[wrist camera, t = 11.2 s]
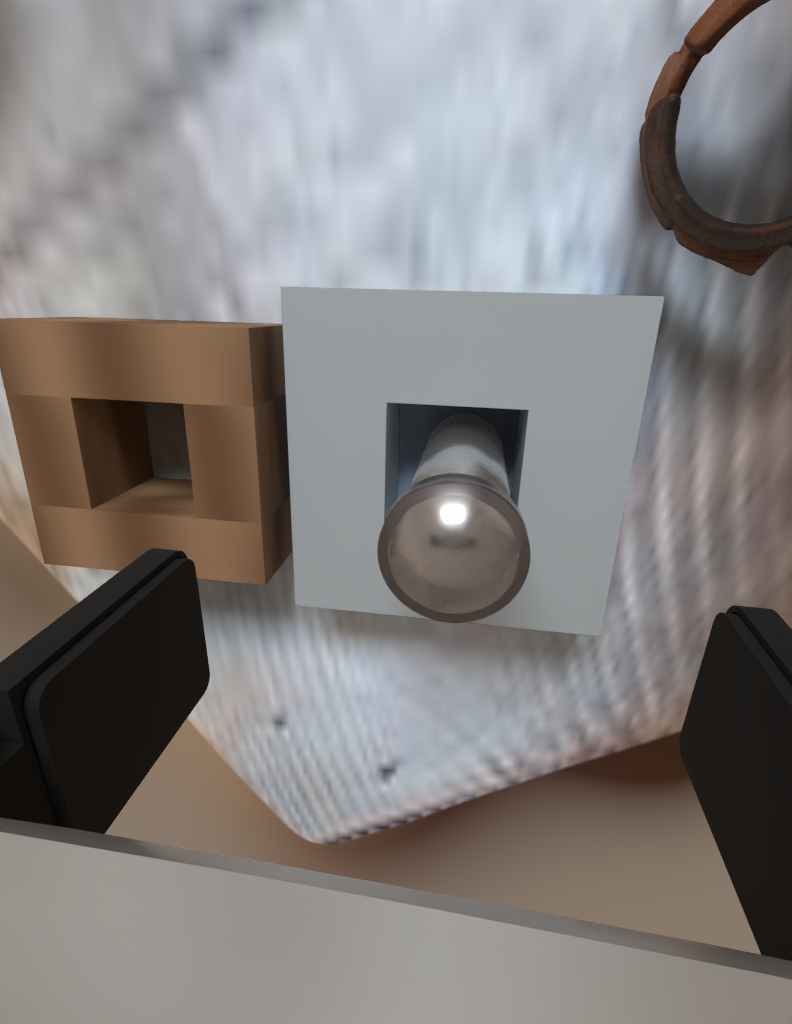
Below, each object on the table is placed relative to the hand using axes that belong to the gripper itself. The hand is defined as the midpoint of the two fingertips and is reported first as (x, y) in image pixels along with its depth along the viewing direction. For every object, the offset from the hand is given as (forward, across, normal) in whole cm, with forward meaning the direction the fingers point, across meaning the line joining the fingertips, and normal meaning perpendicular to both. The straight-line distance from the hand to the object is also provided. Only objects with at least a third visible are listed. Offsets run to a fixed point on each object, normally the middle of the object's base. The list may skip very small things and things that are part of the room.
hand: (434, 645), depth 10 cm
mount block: (+17, +14, +1) cm, 22 cm away
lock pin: (+17, 0, +1) cm, 17 cm away
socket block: (+17, 0, +1) cm, 17 cm away
